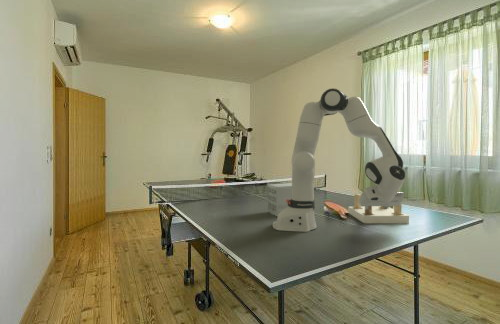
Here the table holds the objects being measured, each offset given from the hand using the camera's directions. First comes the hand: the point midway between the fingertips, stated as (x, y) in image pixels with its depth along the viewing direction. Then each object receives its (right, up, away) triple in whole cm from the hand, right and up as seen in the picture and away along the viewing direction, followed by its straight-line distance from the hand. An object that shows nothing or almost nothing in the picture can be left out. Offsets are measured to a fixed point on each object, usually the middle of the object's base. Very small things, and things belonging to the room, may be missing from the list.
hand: (375, 208), depth 143 cm
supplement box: (-44, -8, +29) cm, 53 cm away
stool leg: (0, -7, +9) cm, 12 cm away
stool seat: (+8, -8, +17) cm, 20 cm away
